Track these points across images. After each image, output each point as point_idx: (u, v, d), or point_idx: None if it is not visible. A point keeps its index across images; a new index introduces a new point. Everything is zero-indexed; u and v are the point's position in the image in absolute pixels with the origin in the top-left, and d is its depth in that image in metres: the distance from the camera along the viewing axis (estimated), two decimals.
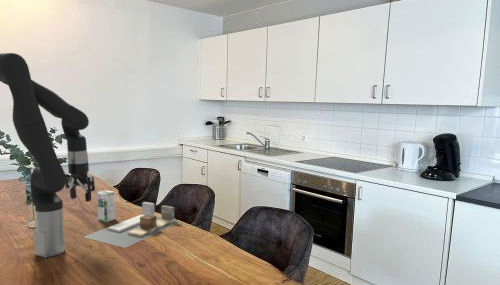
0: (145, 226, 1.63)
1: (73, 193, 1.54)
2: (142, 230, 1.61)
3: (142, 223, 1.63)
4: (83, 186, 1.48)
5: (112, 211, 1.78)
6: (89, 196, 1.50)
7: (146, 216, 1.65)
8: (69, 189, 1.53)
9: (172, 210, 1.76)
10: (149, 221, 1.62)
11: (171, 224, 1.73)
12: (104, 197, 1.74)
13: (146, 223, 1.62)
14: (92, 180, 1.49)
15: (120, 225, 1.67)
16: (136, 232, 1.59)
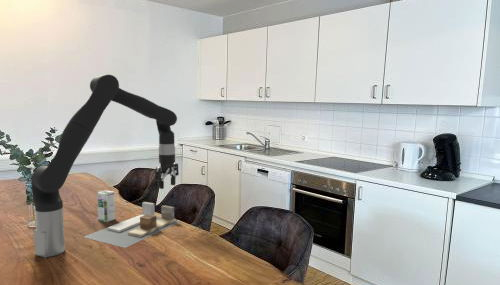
0: (145, 226, 1.63)
1: None
2: (142, 230, 1.61)
3: (142, 223, 1.63)
4: None
5: (112, 211, 1.78)
6: None
7: (146, 216, 1.65)
8: None
9: (172, 210, 1.76)
10: (149, 221, 1.62)
11: (171, 224, 1.73)
12: (104, 197, 1.74)
13: (146, 223, 1.62)
14: None
15: (120, 225, 1.67)
16: (136, 232, 1.59)
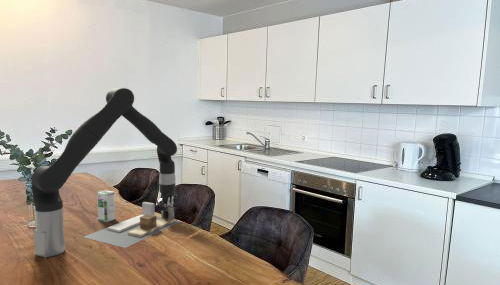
0: (145, 226, 1.63)
1: None
2: (142, 230, 1.61)
3: (142, 223, 1.63)
4: None
5: (112, 211, 1.78)
6: None
7: (146, 216, 1.65)
8: (167, 210, 1.75)
9: (172, 210, 1.75)
10: (149, 221, 1.62)
11: (171, 224, 1.73)
12: (104, 197, 1.74)
13: (146, 223, 1.62)
14: None
15: (120, 225, 1.67)
16: (136, 232, 1.59)
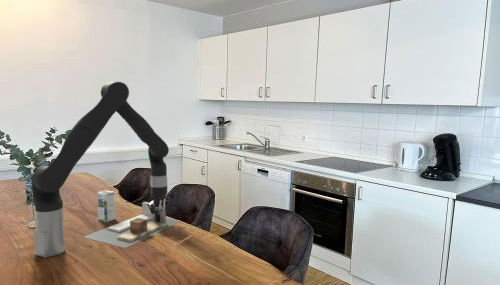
0: (135, 230, 1.58)
1: None
2: (132, 234, 1.56)
3: (132, 228, 1.58)
4: None
5: (112, 211, 1.78)
6: None
7: (136, 220, 1.59)
8: (159, 213, 1.70)
9: (164, 213, 1.70)
10: (139, 225, 1.57)
11: (171, 224, 1.73)
12: (104, 197, 1.74)
13: (136, 227, 1.57)
14: None
15: (120, 225, 1.67)
16: (126, 237, 1.54)
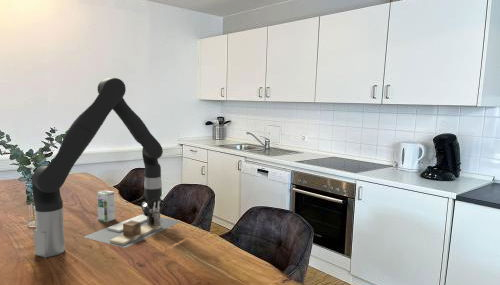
0: (128, 233, 1.54)
1: None
2: (125, 237, 1.53)
3: (125, 230, 1.55)
4: (159, 208, 1.69)
5: (112, 211, 1.78)
6: None
7: (130, 223, 1.56)
8: (153, 216, 1.66)
9: (158, 216, 1.67)
10: (132, 228, 1.53)
11: (171, 224, 1.73)
12: (104, 197, 1.74)
13: (129, 230, 1.54)
14: None
15: (120, 225, 1.67)
16: (118, 240, 1.50)
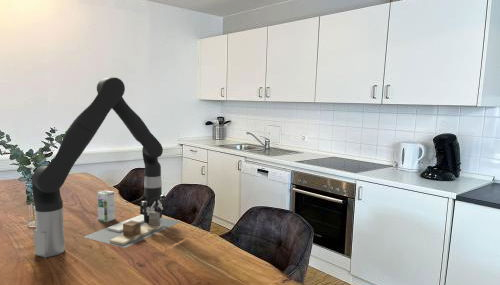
0: (128, 234, 1.54)
1: None
2: (125, 238, 1.52)
3: (125, 230, 1.55)
4: (161, 204, 1.70)
5: (112, 211, 1.78)
6: None
7: (130, 223, 1.56)
8: (148, 214, 1.63)
9: (158, 216, 1.67)
10: (132, 228, 1.53)
11: (171, 224, 1.73)
12: (104, 197, 1.74)
13: (129, 230, 1.53)
14: None
15: (120, 225, 1.67)
16: (118, 240, 1.50)
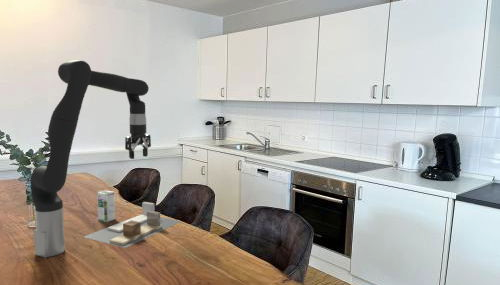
0: (128, 234, 1.54)
1: None
2: (125, 238, 1.52)
3: (125, 230, 1.55)
4: (146, 143, 1.77)
5: (112, 211, 1.78)
6: None
7: (130, 223, 1.56)
8: (133, 150, 1.70)
9: (158, 216, 1.67)
10: (132, 228, 1.53)
11: (171, 224, 1.73)
12: (104, 197, 1.74)
13: (129, 230, 1.53)
14: None
15: (120, 225, 1.67)
16: (118, 240, 1.50)
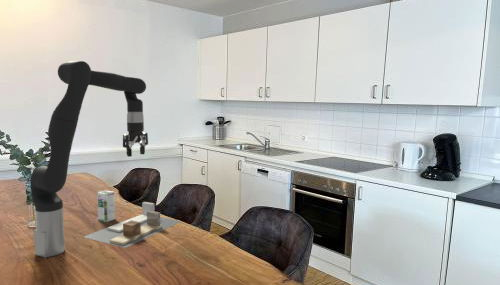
0: (128, 234, 1.54)
1: None
2: (125, 238, 1.52)
3: (125, 230, 1.55)
4: (144, 141, 1.79)
5: (112, 211, 1.78)
6: None
7: (130, 223, 1.56)
8: (130, 147, 1.71)
9: (158, 216, 1.67)
10: (132, 228, 1.53)
11: (171, 224, 1.73)
12: (104, 197, 1.74)
13: (129, 230, 1.53)
14: None
15: (120, 225, 1.67)
16: (118, 240, 1.50)
